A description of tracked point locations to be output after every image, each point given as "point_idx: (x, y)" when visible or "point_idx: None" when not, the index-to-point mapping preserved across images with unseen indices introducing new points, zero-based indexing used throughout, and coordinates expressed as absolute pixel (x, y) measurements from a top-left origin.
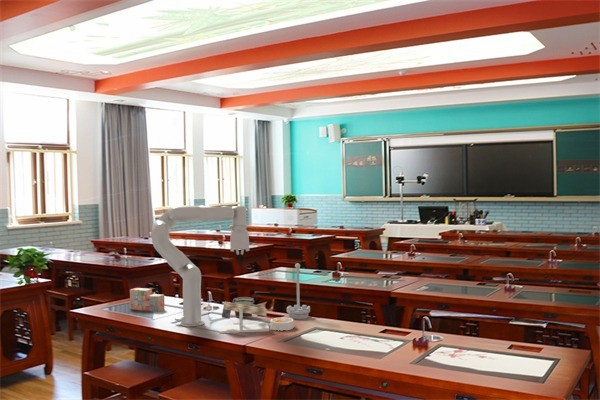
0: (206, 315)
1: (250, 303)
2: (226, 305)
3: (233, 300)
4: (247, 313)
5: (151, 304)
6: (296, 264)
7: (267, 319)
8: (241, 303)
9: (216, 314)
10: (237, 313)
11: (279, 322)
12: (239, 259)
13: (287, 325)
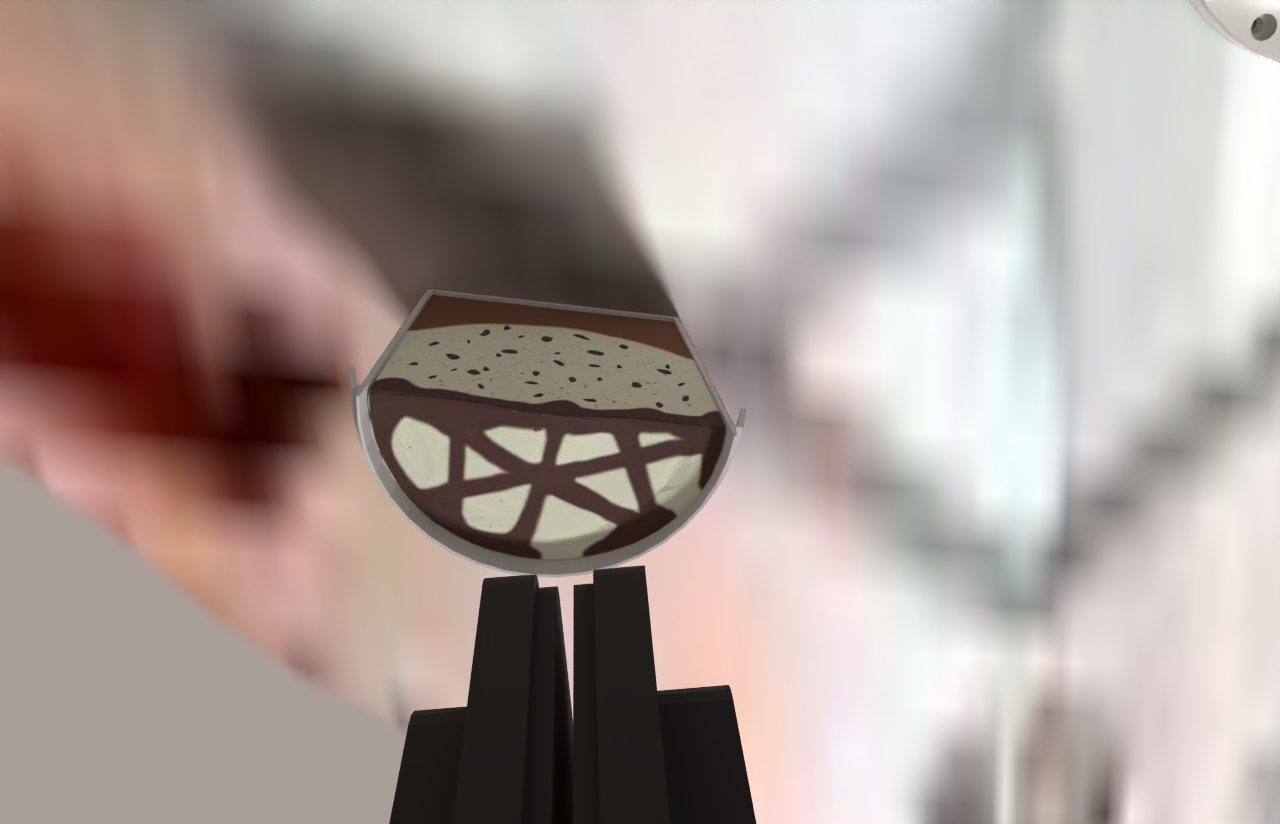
0: (1100, 428)
1: (420, 373)
2: None
3: (733, 425)
4: (490, 316)
5: None
6: None
7: (144, 85)
8: (585, 390)
9: (958, 475)
10: (650, 332)
11: None
12: (597, 640)
13: None
